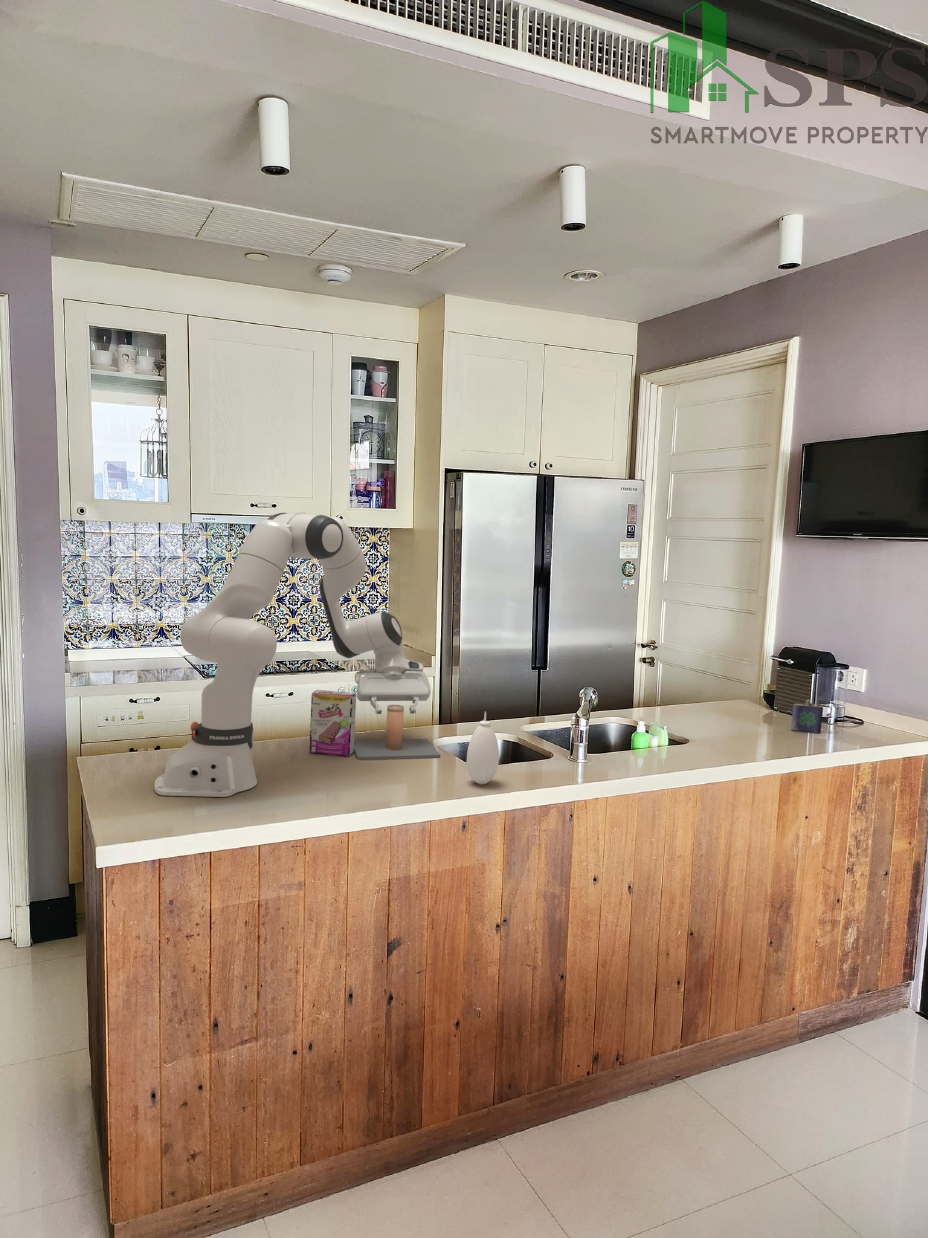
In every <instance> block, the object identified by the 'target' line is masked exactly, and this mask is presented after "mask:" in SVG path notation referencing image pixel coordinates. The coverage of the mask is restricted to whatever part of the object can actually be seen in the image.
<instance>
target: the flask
mask: <svg viewBox="0 0 928 1238" xmlns="http://www.w3.org/2000/svg"><path fill="white" fill-rule="evenodd" d="M823 711H824V707H823V706H822V705H819V704H818V703H817V704H816V703H812V702H811V699H806V700H805V703H804V704H802V703H794V704H793V707H792V716H791V724H790V731H791V732H797V733H798V732H799V733H804V734H805V733H807V734H808V733H809V734H816V735H818V734H819V735H820V734H821V731H822V724H823V722H822V721H823V713H824V712H823Z"/></svg>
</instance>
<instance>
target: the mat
mask: <svg viewBox="0 0 928 1238" xmlns="http://www.w3.org/2000/svg"><path fill="white" fill-rule="evenodd" d="M354 752H355V753H354ZM354 752H353V753H354V755H355V757H356V759H357V761H368V760H369V761H370V760H371V761H372V760H373V761H375V760H377V761H378V760H405V759H406V760H409V759H440V758H441V754H440V752H439V751H438V750H437V749H436V747H434V745H433V744H432V743H431V742H430V740H429V739H428V738H413V739H412V738H410V739H409V738H407V739H405V738H404V739H403V740H402V749H399V750H390V749H387V748H386V739H365V740H364V739H361V740H359V739H357V740H355V739H354Z"/></svg>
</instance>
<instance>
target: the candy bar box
mask: <svg viewBox="0 0 928 1238" xmlns="http://www.w3.org/2000/svg"><path fill="white" fill-rule="evenodd" d="M310 699H311V701H310V702H311V703H310V704H311V705H310V724H309V727H310V729H309V730H310V731H309V748H308V749H309V750H308V751H309V754H318V755H326V754H327V756H337V757H338V756H341V757H351V755H352V754H353V753H354V740H355V731H356V730H355V728H356V709H357V708H356V707H357V692H356V693H355V692H344V691H334V690H323V689H321V690H320V689H316V690H314V691H312V693H311V698H310Z"/></svg>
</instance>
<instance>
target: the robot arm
mask: <svg viewBox="0 0 928 1238" xmlns="http://www.w3.org/2000/svg"><path fill="white" fill-rule="evenodd" d="M290 557H293V558H297V559H302V560H303V559H305V560H311V559H312V560H313V559H316V560H319V563H320V565H321V566H322V570H323V575H322V577H321V578H320V580H319V592H320V597H321V601H322V605H323V610H324V612H325V615H326V616H325V617H326V620H327V623H328V625H329V626H328V627H329V629H330V633H331V634H330V635H331V641H332V644H333V647H334V648H333V649H334V650H335V651H336V653H337V654H338V655H340V656H342V657H344V658H345V659H351V658H354V657H357V656H360V655H362V654H364V653H367V652H371V651H373V654H374V657H375V658H374V669H367V670H365V669H359V670H358V671H357V672H355V674H354V681H355V683H356V684H357V687H356V700H358V701H359V702H369V703H370V706H372V707H373V709H374V710H375V711H374V712H375V714H376V715H381V714H382V712H383V711H382V710H383V708H382V705H379V704H378V703H377V702H403V701H404V702H412V705H411V704H410V705H409V709H408V710H409V714H416V713H417V705H418V704H419V701H420V702H423V701H424V702H425V701H428V700H429V698H430V696H431V693H432V692H431V685H430V682H429V678H428V676H427V673H425V672H424V664H423V663H421V662H417V661H414V660H411V659H408V658H406V656H405V653H404V651H405V646H404V644H405V643H404V639H403V632H402V628H401V625H400V622H399V620H398V619H397V618H396V616H394V615H393V614H391V613H390V612H387V611H384V610H383V611H378V612H375V613H371V614H368V615H365V616H362V617H359V618H356V619H352V620H347V619H345V618H344V614H343V610H342V606H341V604H340V603H341V602H340V599H342V597H343V596H344V595H345V594H347V593H348V592H349V591H351V590H352V589H354V588H355V587H356V586H357V585H358V584H359V583H360V582H361V581H362V579H363V578H364V576H365V574H366V570H367V561H366V558H365V555H364V552H363V550H362V548H361V545H360V543H359V542H358V540H357V539H356V536H355V535H354V533H353V532H352V530H351V529H350V527H349V526H348V524H346V522H345V520H343V519H342V518H341V517H338V516H335V515H334V516H331V515H330V516H327V515H323V514H312V513H306V512H289V513H288V512H279V513H275V514H273V515H271V516H269V517H268V518H267V519H262V520H260V521H258V522H257V523H256V524H255V525H254V526H253V528H252V529H251V531H250V532H249V534H248V536H247V537H246V538H245V540H244V542H243V544H242V546H241V547H240V549H239V552H238V554H237V556H236V558H235V561H234V563H233V565H232V568H231V569H230V571H229V574H228V576H227V578H226V580H225V582H224V584H223V585H222V587H221V588H220V590H219V591H218V592H217V593H216V594H215V596H214V597H213V598H212V599H211V601H209V603H208V604H207V605H206V606H205V607H204V608H203V609H202V610H201V611H199V612H198V613H196V614H194V615H192V616H191V617H189V618H187V619H186V620H185V622H184V623H183V625H182V627H181V630H180V634H179V635H180V638H179V639H180V644H181V646H182V648H183V649H184V651H185V652H187V653H188V654H190V655H191V656H193V657H195V658H198V659H199V660H201V661H206V662H210V663H214V664H216V666H217V667H216V672H215V675H214V677H213V681H212V682H210V683H208V684H207V685H206V686H204V688H203V690H202V692H201V715H200V716H201V718H200V719H201V721H200V723H199V722H198V721H193V722H192V723H191V724H190V731H191V740H190V741H189V742H188V743H186V744H184V745H183V746H182V747H181V748H180V749H178V750H177V751H175V752H174V753H173V754H171V756H170V757H169V758H168V761H167V762H166V765H165V769H164V773H162V774H161V775H159V776H158V777H157V778H156V779H155V781H154V785H153V789H154V791H155V793H156V794H158V795H159V796H170V797H171V796H173V797H175V796H176V797H177V796H178V797H211V798H212V797H215V798H216V797H217V798H218V797H219V798H226V797H227V798H228V797H231V796H233V795H235V794H238V793H240V792H245V791H246V790H250V789H252V788H254V787H255V786H256V785H257V784H258V780H257V777H256V773H255V772H256V771H255V767H254V759H253V750H252V749H253V747H254V746H253V745H254V732H255V731H254V724H253V722H252V710H253V709H252V708H253V707H252V706H253V694H254V688H255V684H256V682H257V679H258V677H259V676H260V673H261V671H262V670H263V669H264V668H266V666H267V665H269V664H270V663H271V661H272V660H273V659H274V657H275V655H276V652H277V649H278V648H277V645H278V644H277V642H278V641H277V637H276V634H275V632H274V631H273V630H272V629H271V628H270V627H269V626H267V625H265V624H263V623H261V622H259V621H256V620H253V619H251V618H252V617H253V616H254V615H255V614H256V613H258V612H260V610H263V609H265V608H266V607H268V606H269V605H270V604H271V602H272V601H273V598H274V595H275V594H276V591H277V589H278V586H279V584H280V581H281V579H282V577H283V574H284V572H285V570H286V567H287V564H288V561H289V558H290Z"/></svg>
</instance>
